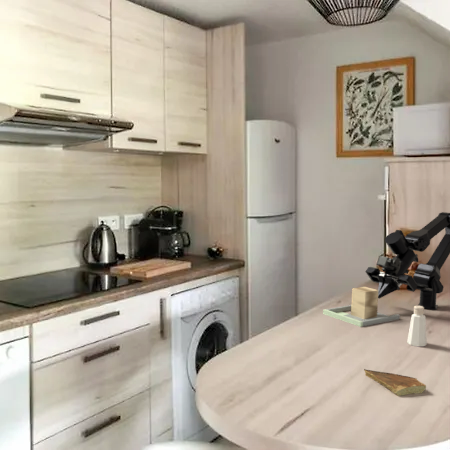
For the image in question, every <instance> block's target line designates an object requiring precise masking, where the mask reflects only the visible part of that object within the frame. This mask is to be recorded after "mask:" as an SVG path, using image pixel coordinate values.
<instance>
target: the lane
mask: <svg viewBox="0 0 450 450" xmlns="http://www.w3.org/2000/svg"><path fill="white" fill-rule="evenodd" d="M349 311H350V312H351V304H349V305H343V306H337V307H331V308H326V309H325V308H324V309H322V314H323V315H325V316H328V317H330V318H334V319H336V320H340V321H343V322H345V323H347V324H351V325H354V326H356V327H360V328H362V327H368V326H373V325H377V324H381V323H389V322H391V321H398V320H400V318H401V317H400V314H398V313H397V314H392V315H387V314H385V313H381V312H378V311H377V317H373V318H368V319H362V318H359V317H356V316H353V315H351V313H348V312H349Z"/></svg>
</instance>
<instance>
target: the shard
mask: <svg viewBox="0 0 450 450" xmlns="http://www.w3.org/2000/svg"><path fill="white" fill-rule="evenodd" d="M363 371H364V373H365V376H366V377H368V378H370V379H371V380H374V381H375V382H376V383H379V384H380V385H382V386H383V387H384V388H386V389H387V390H389V392H390V391H391V392H392V394H394V395H396V396H398V397H400V396H406V395H410V394H413V393H415V394H422V393H423V392H424V391H425V390H426V388H427V385H426V384H424V383H423V382H421V381H420V380H418V378H416V377H412V376H407V375H402V374H395V373H390V372H384V371H375V370H370V369H366V368H364V369H363Z"/></svg>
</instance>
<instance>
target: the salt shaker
mask: <svg viewBox="0 0 450 450" xmlns="http://www.w3.org/2000/svg"><path fill="white" fill-rule="evenodd" d="M424 310H425V308H424V307H423V306H418V305H414V306H413V314H411V318H410V322H409V330H408V334H407V340H406V341H407V342H406V343H407V344H408V345H410V346H413V347H426V346H427V344H428V341H427V340H428V339H427V323H426V322H427V321H426V319H427V318H426V315H425V314H424V312H425V311H424Z"/></svg>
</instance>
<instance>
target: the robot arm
mask: <svg viewBox="0 0 450 450" xmlns="http://www.w3.org/2000/svg"><path fill="white" fill-rule="evenodd" d="M444 229H445V230H444ZM443 230H444V231H445V234H444V235H443V237H442V238H441V240H440V242H439V244H438V245H437V247H436V248H435V249H434V251H433V253H432V255H431V256H430V257H429V260H427V262H426V263H419V260H420V259H419V254H417V253H416V252H424V251H426V249H427V248H428V247H429V246H430V245H431V240H433V238H435V237H436V236H437V235H438V234H439V233H441V232H442V231H443ZM384 242H385V244H386V245H387V247H388V248H389V249H390V251H391V252H392V253H393V254H394V255H395V256H394V257H392V258H391V257H387V256H382V255H379V256H378V259H377V262H376V266H379V267H380V268H381V270H382V271H381V270H380V269H379V268H378V267H374V266H373V267H372V266H369V267H367V269H366V270H365V273H366V275H367V276H368V278H369V279H370V280H371V281H372V282H373V283H377V284H378V286H377V287H378V288H377V290H378V300H379V299H382V298H384V297H385V296H388V295H389V294H391V293H394V292H396V291H399V290H401V288H400V287H401V286H403V285H406V290H407V291H408V292H414V293H415V292H416V290H419V303H418V304H417V306H423V307H424V310H425V309H426V310H434V311H436V310H437V309H438V307H439V305H438V304H437V294H441V293H443V292H444V287H445V286H444V285H443V283H442V282H441V269H442V267H443V266H444V264H445V262H446V261H447V259H448V257H449V256H450V212H445V211H443V212H442V211H441V212H439V213H438V215H437V216H435V218H434V219H432V220H431V221H429V222H428V223H427V224H425V226H423V227H422V228H420V229H418V230H414V231H411V232H409V233H407V234H406V235H405V234H404V232H403V230H402V229H401V230H400V229H396V230H395V231H394V232H391V233H388V235H386V236H385V238H384ZM412 263H419V264H418V266H417V268H416V269H415V270H414V274H413V276H412V275H411V274H409V272H410V271H409V270H408V269H410V267H411V265H412Z"/></svg>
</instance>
